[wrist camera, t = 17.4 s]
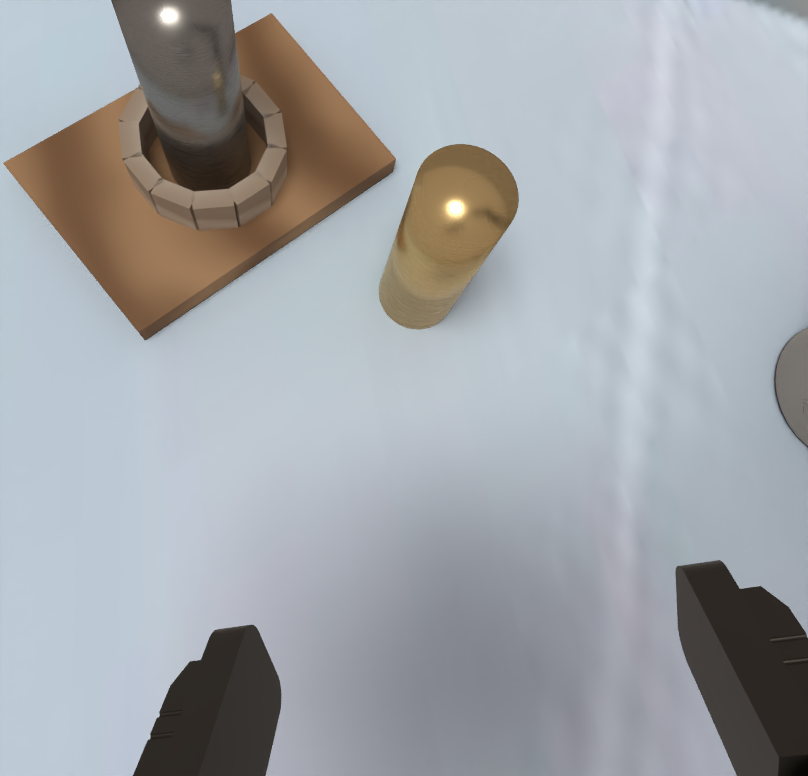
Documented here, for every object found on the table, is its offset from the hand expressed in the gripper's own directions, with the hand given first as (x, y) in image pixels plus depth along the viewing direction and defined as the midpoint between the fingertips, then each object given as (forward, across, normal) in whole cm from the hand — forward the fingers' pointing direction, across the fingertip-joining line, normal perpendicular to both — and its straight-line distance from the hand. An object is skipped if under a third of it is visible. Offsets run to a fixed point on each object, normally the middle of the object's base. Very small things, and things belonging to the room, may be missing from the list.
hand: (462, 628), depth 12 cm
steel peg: (+29, +12, -8) cm, 32 cm away
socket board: (+30, +12, -7) cm, 33 cm away
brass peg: (+28, +2, +2) cm, 28 cm away
